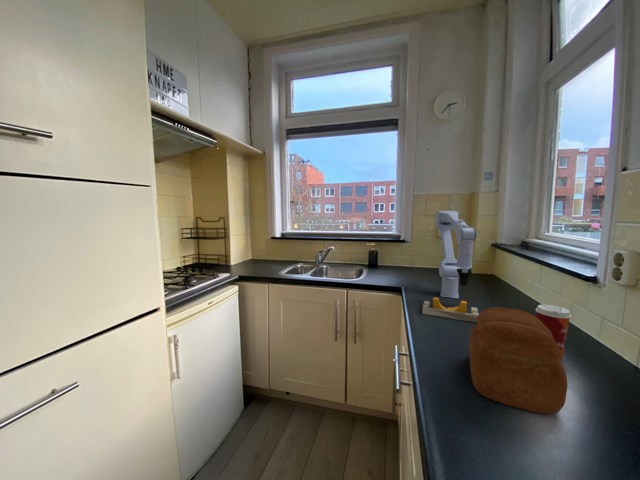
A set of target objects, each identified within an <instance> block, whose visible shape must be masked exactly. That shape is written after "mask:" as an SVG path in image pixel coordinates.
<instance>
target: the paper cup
mask: <svg viewBox="0 0 640 480" xmlns="http://www.w3.org/2000/svg"><path fill="white" fill-rule="evenodd" d="M535 312H536V318H538V319H539V320H540V321H541V322H542V323H543V324H544V325H545V326H546V327H547V328H548V329H549V330H550V331H551V333H552V336H553V338H554V340H555V342H556V343H557V345H558V347H559V348H560V356H559V359H560V361H561V360H562V359H563V356H564V351H565V347H566V346H565V345H566V340H567V335H568V330H569V329H568V328H569V323H570V320H571V318H572V315H571V312H570V310H569V309H567V308H564V307H561V306H557V305H552V304H538V305H537V307H536V308H535Z"/></svg>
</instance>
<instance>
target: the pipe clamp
mask: <svg viewBox="0 0 640 480" xmlns="http://www.w3.org/2000/svg"><path fill="white" fill-rule="evenodd" d="M432 308H437V309H444V310H450V311H457V312H464V313H468V312H467V311H468V310H467V308H468V302H467V301H465V300H460V303H459V305H458V306H454V307H445V306H444V305H442V304H441V302H440V298H439V297H436V296H435V297H433V301H432Z"/></svg>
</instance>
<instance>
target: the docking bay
mask: <svg viewBox="0 0 640 480" xmlns="http://www.w3.org/2000/svg"><path fill="white" fill-rule="evenodd" d="M470 308H471V309H470V313H468V312H467V313H464V312H457V311H450V310H444V309H437V308H433V307H430V301H429V300H424V302H423V305H422V311H421V312H422V313H421V314H422V315H426V316H432V317H439V318H446V319H452V320H458V321H465V322H470V323H476V324H478V320H477V316H478V315H479V313H480V312H479V310H478V307H474V306H472V307H470Z"/></svg>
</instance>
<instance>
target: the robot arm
mask: <svg viewBox="0 0 640 480" xmlns="http://www.w3.org/2000/svg"><path fill="white" fill-rule="evenodd" d="M434 221H435V226H436V229H438V230H439V233H440V240H441V247H442V253H443V254H442V256H443V259H442V260H441V261H440V262H439V264H438V273H439V276H440V277H441V278H442V281H441V290H440V297H442V298H444V297H445V298H450V299H460V297H459V296H460V295H459V284H460V286H461V287H467V284H468V280H469V278H470V275H471V274H472V272H473V271H472V268H473V254H474V253H473V252H474V241H476V239H477V230H476V229H475V227H473V226H472V227H470V226H469V225H468V224H467V223H466V222H465V221H464V219H459V212H458V211H457V210H437V211H436V213H435V217H434ZM451 230H453V232H455V237H456V244H457V258H456V257H455V252H454V245H453V240H452V233H451Z"/></svg>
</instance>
